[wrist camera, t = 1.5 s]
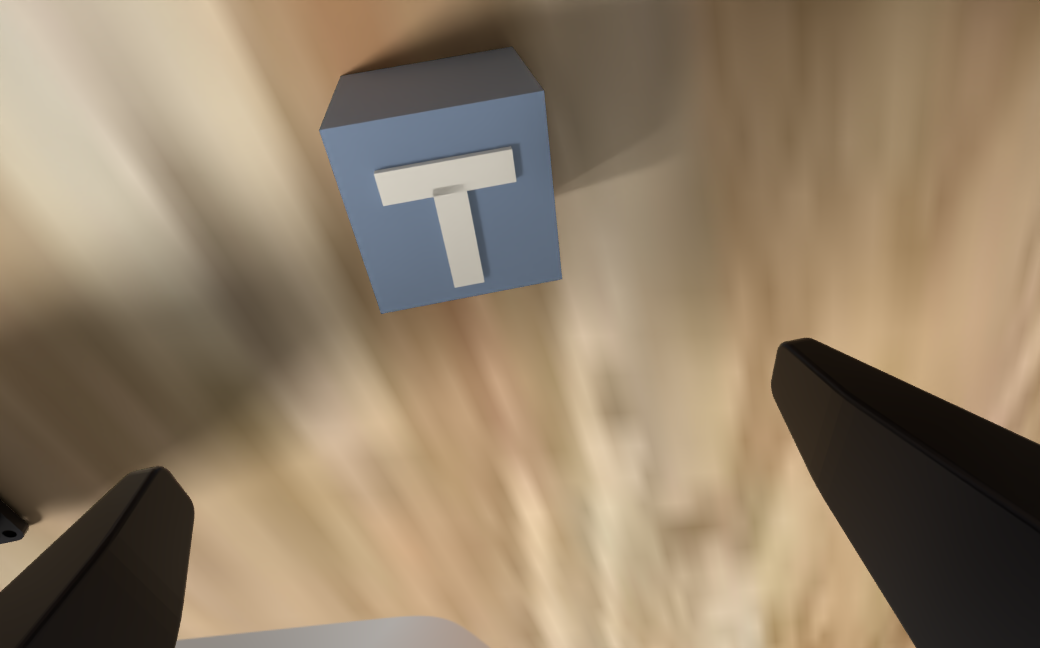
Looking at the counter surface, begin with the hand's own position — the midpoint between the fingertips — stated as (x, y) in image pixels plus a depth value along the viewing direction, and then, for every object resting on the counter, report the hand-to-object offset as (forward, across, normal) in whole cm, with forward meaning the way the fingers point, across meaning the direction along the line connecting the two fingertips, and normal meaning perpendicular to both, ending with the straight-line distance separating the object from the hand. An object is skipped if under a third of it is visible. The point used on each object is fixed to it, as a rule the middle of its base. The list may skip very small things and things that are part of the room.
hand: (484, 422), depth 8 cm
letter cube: (+12, 0, 0) cm, 12 cm away
